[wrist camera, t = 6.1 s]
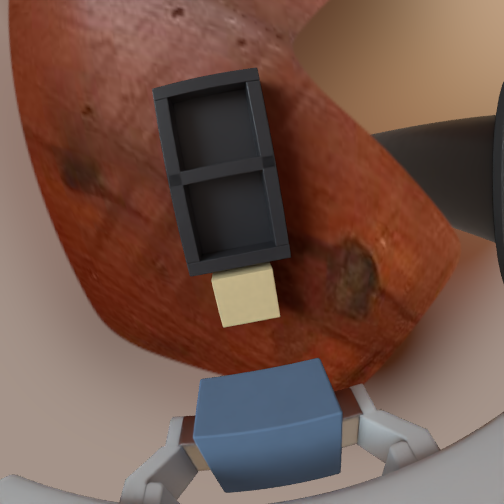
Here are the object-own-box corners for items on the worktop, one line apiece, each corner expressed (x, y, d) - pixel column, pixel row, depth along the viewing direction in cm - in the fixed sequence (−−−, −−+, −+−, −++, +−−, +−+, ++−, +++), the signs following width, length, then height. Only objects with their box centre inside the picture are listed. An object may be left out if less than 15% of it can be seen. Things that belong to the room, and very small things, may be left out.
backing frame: (254, 78, 20) (257, 67, 18) (284, 247, 24) (291, 257, 22) (160, 97, 20) (152, 88, 18) (194, 265, 24) (190, 276, 21)
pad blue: (319, 356, 10) (343, 412, 7) (324, 422, 11) (340, 473, 8) (199, 378, 10) (191, 438, 7) (225, 440, 11) (224, 493, 8)
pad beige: (267, 257, 24) (272, 268, 22) (275, 300, 25) (280, 316, 23) (213, 267, 24) (211, 280, 21) (223, 310, 25) (223, 327, 22)
